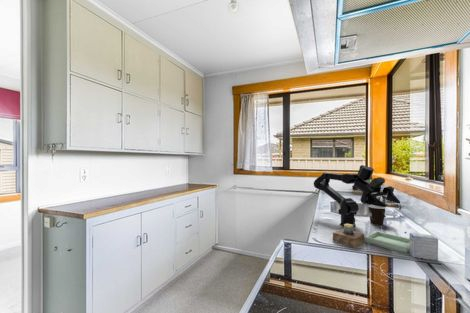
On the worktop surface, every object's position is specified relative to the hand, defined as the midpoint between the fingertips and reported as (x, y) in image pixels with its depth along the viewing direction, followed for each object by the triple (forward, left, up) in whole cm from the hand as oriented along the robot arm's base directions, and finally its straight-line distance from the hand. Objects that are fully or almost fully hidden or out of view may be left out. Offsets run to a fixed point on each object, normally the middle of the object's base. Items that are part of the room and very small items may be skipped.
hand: (392, 204), depth 107 cm
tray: (0, -5, -17) cm, 18 cm away
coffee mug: (-15, +23, -17) cm, 32 cm away
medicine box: (+13, -10, -17) cm, 24 cm away
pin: (-13, -17, -17) cm, 28 cm away
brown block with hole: (-13, -17, -17) cm, 28 cm away
